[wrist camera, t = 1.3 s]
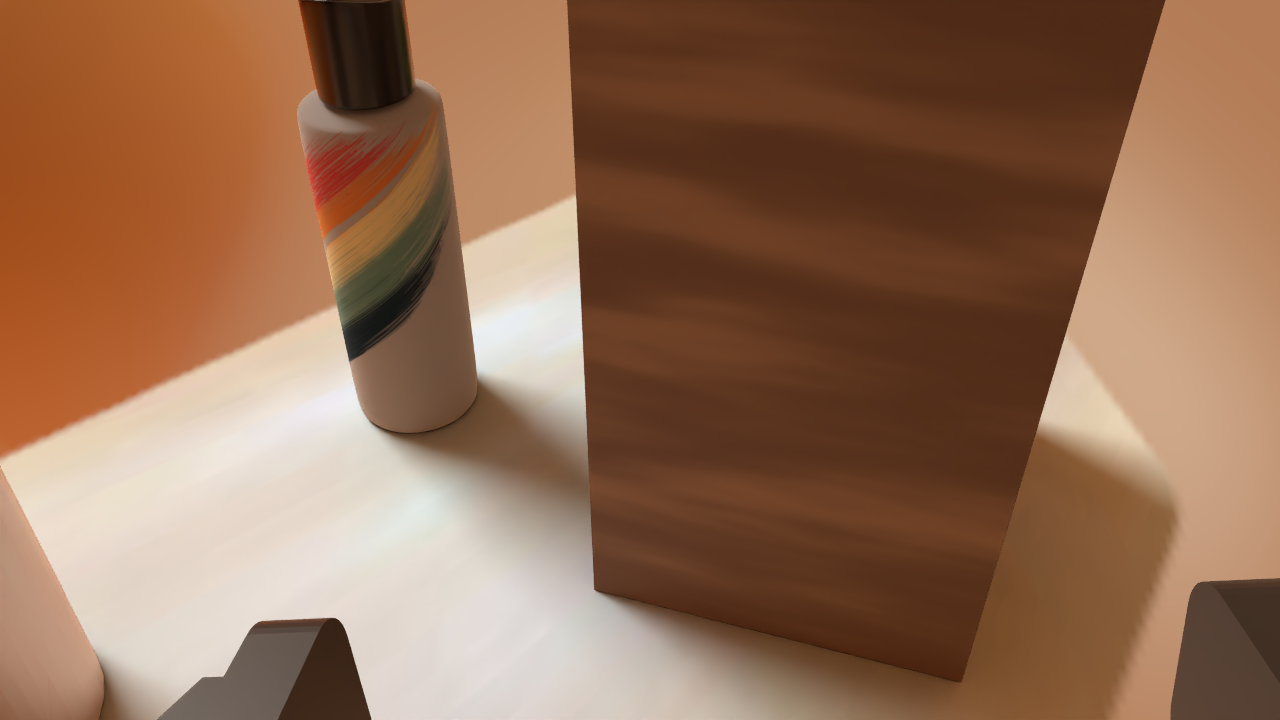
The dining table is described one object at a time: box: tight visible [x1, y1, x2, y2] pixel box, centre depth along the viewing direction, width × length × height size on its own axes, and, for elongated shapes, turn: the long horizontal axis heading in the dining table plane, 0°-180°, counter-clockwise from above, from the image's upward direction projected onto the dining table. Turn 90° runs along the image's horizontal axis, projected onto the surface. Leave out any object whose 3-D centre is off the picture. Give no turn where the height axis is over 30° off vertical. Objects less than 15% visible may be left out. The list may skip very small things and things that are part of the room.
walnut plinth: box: [567, 0, 1165, 682], centre depth 36 cm, size 16×14×32 cm
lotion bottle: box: [297, 0, 477, 433], centre depth 45 cm, size 6×6×20 cm
